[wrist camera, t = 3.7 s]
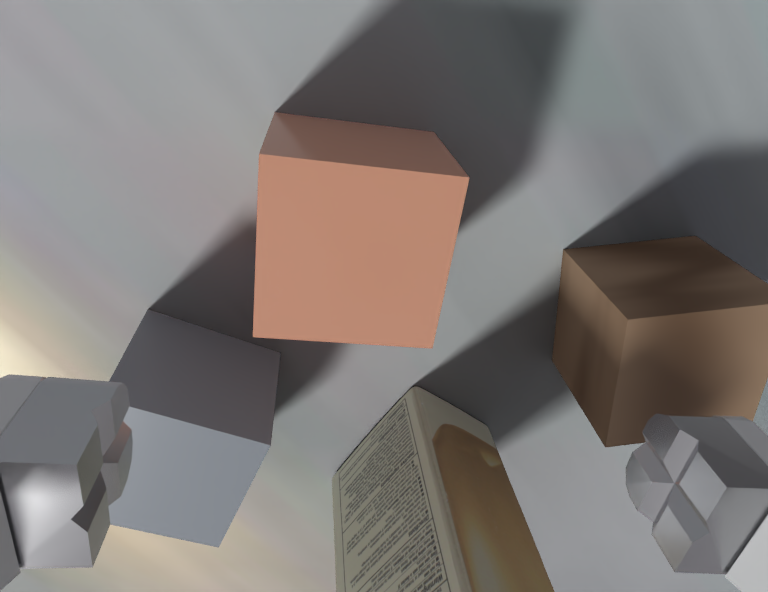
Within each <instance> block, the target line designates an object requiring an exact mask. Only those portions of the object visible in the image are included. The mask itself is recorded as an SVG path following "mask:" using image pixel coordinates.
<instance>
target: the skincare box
mask: <svg viewBox="0 0 768 592" xmlns="http://www.w3.org/2000/svg"><path fill="white" fill-rule="evenodd" d="M332 491H333V518H334V543H335V570H336V592H554V590H553V587H552V585H551V582H550V580H549V577H548V575H547V572H546V570H545V568H544V565H543V562H542V560H541V557H540V554H539V552H538V550H537V547H536V545H535V542H534V540H533V537H532V535H531V532H530V530H529V527H528V525H527V522H526V520H525V517H524V515H523V513H522V510H521V508H520V505H519V503H518V500H517V498H516V496H515V493H514V491H513V488H512V486H511V483H510V481H509V478H508V476H507V473H506V471H505V468H504V466H503V463H502V461H501V458H500V456H499V453H498V450H497V448H496V445H495V443H494V441H493V438H492V436H491V433H490V431H489V428H488V427H487V426H486V425H485V424H483V423H482V422H480V421H478V420H476V419H475V418H473V417H471V416H470V415H468V414H467V413H465V412H463V411H461V410H460V409H458V408H456V407H455V406H453V405H451V404H449V403H448V402H446V401H444V400H442V399H440V398H439V397H437V396H435V395H433V394H431V393H429V392H428V391H426V390H424V389H422V388H420V387H412V388H411V389H410V390H409V391H408V392H407V393H406V394H405V395H404V396H403V397H402V398H401V399H400V400H399V401H398V402H397V404H396V405H395V406H394V407H393V408H392V409H391V410H390V411H389V412H388V413H387V414H386V416H385V417H384V418H383V419H382V420H381V421H380V422H379V423H378V425H377V426H376V427H375V428H374V429H373V430H372V431H371V433H370V434H369V435H368V436H367V437H366V438H365V439H364V440H363V442H362V443H361V444H360V445H359V446H358V448H357V449H356V450H355V451H354V452H353V453H352V455H351V456H350V457H349V458H348V459H347V461H346V462H345V463H344V464H343V465H342V467H341V468H340V469H339V470H338V471H337V473H336V474H335V475H334V476H333V478H332Z"/></svg>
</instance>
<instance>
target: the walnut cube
mask: <svg viewBox="0 0 768 592" xmlns="http://www.w3.org/2000/svg"><path fill="white" fill-rule="evenodd" d="M552 361H553V363H554V365H555V366H556V368H557V369H558V371H559V373H560V374H561V376H562V378H563V379H564V381H565V382H566V384H567V386H568V387H569V389H570V391H571V392H572V394H573V395H574V397H575V399H576V400H577V402H578V404H579V405H580V407H581V409H582V410H583V412H584V413H585V415H586V417H587V418H588V420H589V422H590V423H591V425H592V426H593V428H594V430H595V431H596V433H597V435H598V436H599V438H600V439H601V441H602V443H603V444H604V446H605V447H612V446H620V445H628V444H636V443H644V442H646V441H645V438H644V435H643V430H644V428H645V426H646V424H647V422H648V420H649V419H650V418H651V417H653V416H654V415H655V414H656V413H659V414H679V415H699V416H714V415H716V416H743V417H745V418H747V419H749V420H751V421H753V419H754V416H755V413H756V410H757V407H758V404H759V401H760V398H761V395H762V392H763V389H764V387H765V384H766V381H767V378H768V284H767V283H765V282H764V281H762V280H761V279H759V278H758V277H757V276H755V275H754V274H752V273H751V272H749V271H748V270H746V269H745V268H743V267H742V266H740V265H739V264H737V263H736V262H734V261H733V260H731V259H730V258H728V257H727V256H725V255H724V254H722V253H721V252H719V251H718V250H716V249H715V248H713V247H712V246H710V245H709V244H707V243H706V242H704V241H703V240H701V239H700V238H698V237H697V236H688V237H678V238H668V239H659V240H649V241H639V242H630V243H620V244H610V245H601V246H591V247H581V248H571V249H563V258H562V267H561V277H560V287H559V297H558V307H557V316H556V326H555V336H554V346H553V356H552Z"/></svg>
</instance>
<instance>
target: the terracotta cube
mask: <svg viewBox="0 0 768 592" xmlns="http://www.w3.org/2000/svg"><path fill="white" fill-rule="evenodd" d="M469 178H470V177H469V176H468V175H467V174H466V172H465V171H464V170H463V169H462V167H461V166H460V165H459V163H458V162H457V161H456V160H455V158H454V157H453V156H452V155H451V153H450V152H449V151H448V149H447V148H446V147H445V146H444V144H443V143H442V142H441V140H440V139H439V138H438V137H437V135H436V134H435V133H434V132H431V131H423V130H415V129H407V128H398V127H390V126H382V125H374V124H366V123H358V122H350V121H342V120H334V119H326V118H318V117H310V116H302V115H294V114H286V113H278V112H275V113H274V116H273V118H272V121H271V124H270V126H269V129H268V132H267V134H266V137H265V140H264V142H263V145H262V148H261V150H260V153H259V172H258V201H257V230H256V259H255V288H254V317H253V337H257V338H273V339H289V340H305V341H321V342H337V343H353V344H369V345H385V346H401V347H417V348H433V343H434V338H435V334H436V329H437V325H438V320H439V316H440V311H441V306H442V302H443V297H444V293H445V288H446V283H447V279H448V274H449V270H450V265H451V260H452V256H453V251H454V247H455V242H456V238H457V233H458V228H459V224H460V219H461V215H462V210H463V205H464V201H465V196H466V192H467V187H468V182H469Z"/></svg>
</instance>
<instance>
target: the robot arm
mask: <svg viewBox="0 0 768 592" xmlns="http://www.w3.org/2000/svg"><path fill="white" fill-rule="evenodd" d="M129 406H130V403H129V396H128V388H127V386H126V385H125V384H124V383H120V382H107V381H94V380H81V379H69V378H56V377H48V378H45V377H37V376H23V375H7V376H4V377H2V378H0V590H2V589H3V588H4V587H5V586H6V585H7V584H8V583H9V582H11V581H12V580H13V579H14V578H15V577H16V576H17V575H18V574H20V569H26V568H80V567H93V565H94V563H95V560H96V558H97V555H98V553H99V550H100V548H101V545H102V543H103V540H104V538H105V535H106V533H107V531H108V528H109V526H110V516H109V507H108V506H109V505H110V504H112V503H113V502H114V501H116V500H117V499H118V498H120V497H121V495H122V493H123V490H124V487H125V485H126V482H127V479H128V475H129V470H130V466H131V461H132V449H133V438H132V430H131V429H130V428H129V427H128V426H127V425H126V423H125V422H124V421H123V420H124V418H125V415H126V413H127V411H128V409H129ZM643 435H644V438H645V441H646V443H644V444H643V445H642V446H640V447H639V448H638V449H636V450H635V451H633V452H632V454H631V457H630V459H629V462H628V464H627V466H626V486H627V489H628V493H629V496H630V498H631V500H632V502H633V504H634V505H635V507H636V509H637V510H638V511H639V512H640V513H642V514H643V515H644V516H645V517H647V518H648V519H649V520H651V521H652V522H653V528H652V536H653V537H654V539H655V541H656V542H657V544H658V546H659V547H660V549H661V550H662V552H663V554H664V555H665V557H666V559H667V560H668V562H669V564H670V565H671V567H672V569H673V570H674V572H683V573H709V574H726V576H725V577H726V578H727V579H728V580H729V581H730V582H731V583H732V584H733V585H735V586H736V587H737V588H738V589H739V590H740V591H741V592H768V436H767V435H766V434H765V433H764V432H763V431H762V430H761V429H760V428H759V427H758V426H757V425H756V424H755V423H754V422H753V421H751V420H749V419H747V418H745V417H743V416H716V415H714V416H699V415H679V414H659V413H656V414H655V415H654V416H653V417H651V418H650V419H649V420H648V422H647V424H646V426H645V428H644V430H643Z"/></svg>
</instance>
